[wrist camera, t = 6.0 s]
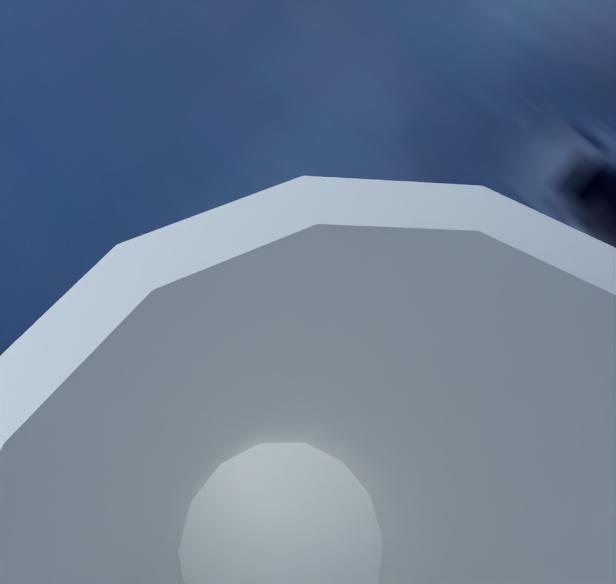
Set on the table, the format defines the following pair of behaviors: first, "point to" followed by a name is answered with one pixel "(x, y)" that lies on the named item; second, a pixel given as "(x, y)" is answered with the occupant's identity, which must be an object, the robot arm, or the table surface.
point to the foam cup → (321, 399)
